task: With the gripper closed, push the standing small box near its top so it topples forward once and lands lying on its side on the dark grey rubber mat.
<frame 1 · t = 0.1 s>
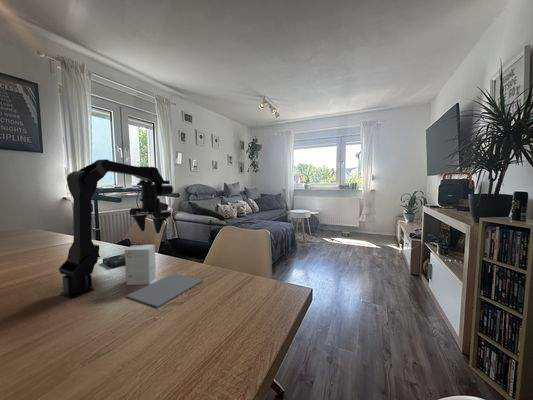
hand: (150, 232, 101), 15 cm above the table, tool pointing down, fingers open, 9 cm apart
disk drive: (125, 262, 106), on the table
small box: (141, 281, 85), on the table
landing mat: (167, 288, 80), on the table
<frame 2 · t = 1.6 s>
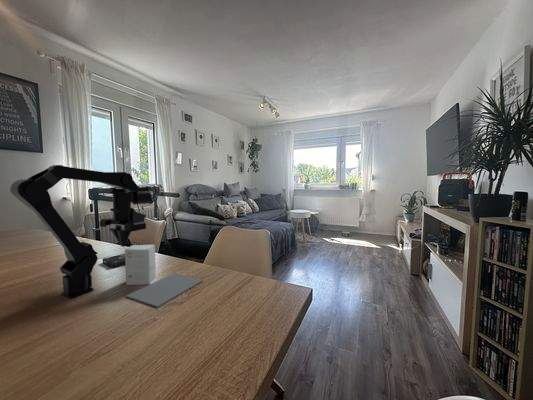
hand: (123, 246, 88), 12 cm above the table, tool pointing down, fingers closed
nothing on the table moved.
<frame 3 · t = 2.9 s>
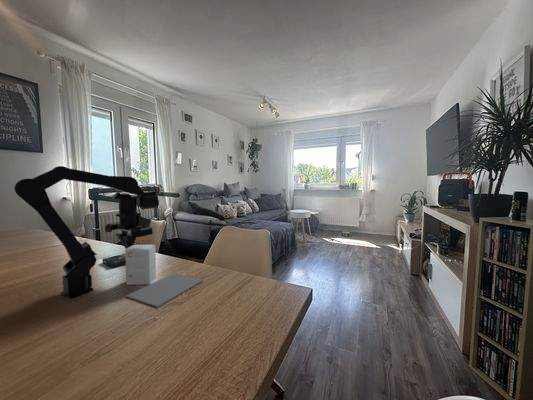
hand: (129, 251, 87), 10 cm above the table, tool pointing down, fingers closed
small box: (141, 281, 85), on the table, touching gripper
everything else where it was.
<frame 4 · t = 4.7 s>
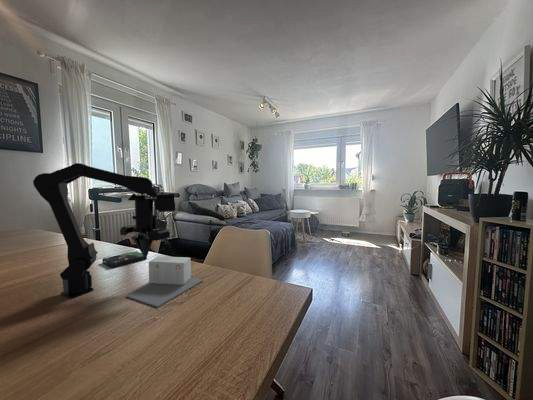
hand: (145, 255, 84), 10 cm above the table, tool pointing down, fingers closed
small box: (152, 269, 85), point 5 cm above the table, touching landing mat
everything else where it was.
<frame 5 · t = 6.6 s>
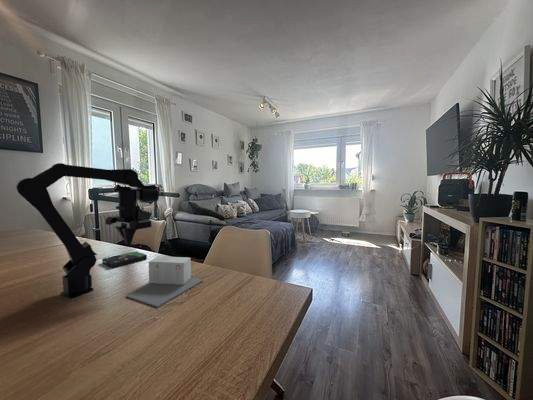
hand: (128, 244, 87), 13 cm above the table, tool pointing down, fingers closed
nothing on the table moved.
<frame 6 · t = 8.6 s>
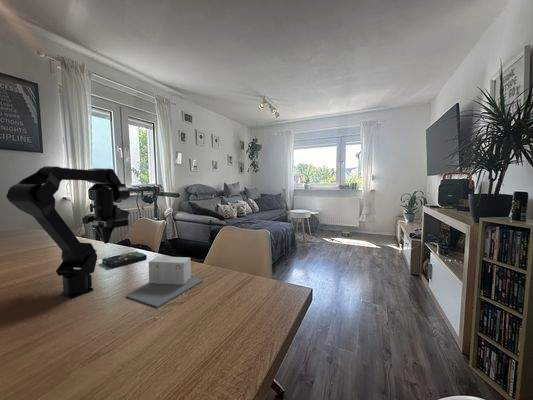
hand: (106, 243, 88), 13 cm above the table, tool pointing down, fingers closed
nothing on the table moved.
at the end: small box tilted 90°; small box touching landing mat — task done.
